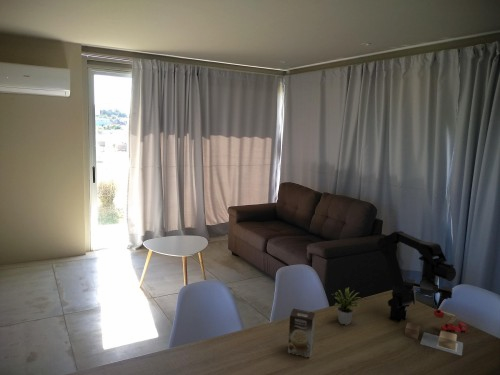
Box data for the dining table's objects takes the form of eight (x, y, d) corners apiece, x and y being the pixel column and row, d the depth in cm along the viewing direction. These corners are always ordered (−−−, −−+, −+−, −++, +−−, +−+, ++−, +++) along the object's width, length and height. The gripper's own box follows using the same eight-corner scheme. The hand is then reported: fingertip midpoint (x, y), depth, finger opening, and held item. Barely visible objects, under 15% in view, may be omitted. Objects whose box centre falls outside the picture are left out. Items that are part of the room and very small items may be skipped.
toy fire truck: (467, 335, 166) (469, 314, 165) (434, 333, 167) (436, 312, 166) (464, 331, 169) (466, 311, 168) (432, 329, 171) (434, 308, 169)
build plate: (420, 345, 157) (420, 343, 157) (423, 334, 166) (424, 332, 166) (461, 358, 149) (461, 355, 149) (462, 345, 158) (463, 342, 158)
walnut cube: (404, 338, 163) (405, 327, 162) (406, 333, 167) (407, 322, 166) (417, 341, 160) (418, 330, 159) (419, 336, 164) (420, 325, 163)
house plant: (342, 334, 164) (344, 298, 162) (321, 319, 176) (323, 286, 174) (366, 326, 171) (368, 292, 169) (344, 313, 183) (346, 281, 181)
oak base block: (438, 345, 155) (439, 336, 155) (439, 339, 160) (440, 330, 160) (455, 350, 152) (456, 341, 152) (456, 343, 157) (457, 334, 157)
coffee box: (287, 353, 149) (288, 315, 147) (290, 345, 155) (292, 308, 153) (310, 358, 146) (312, 319, 144) (313, 349, 152) (315, 312, 150)
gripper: (403, 273, 160) (399, 308, 162) (453, 283, 151) (448, 320, 153) (407, 265, 170) (403, 298, 172) (454, 274, 160) (450, 309, 163)
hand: (425, 306), depth 165 cm, fingers open, 9 cm apart
